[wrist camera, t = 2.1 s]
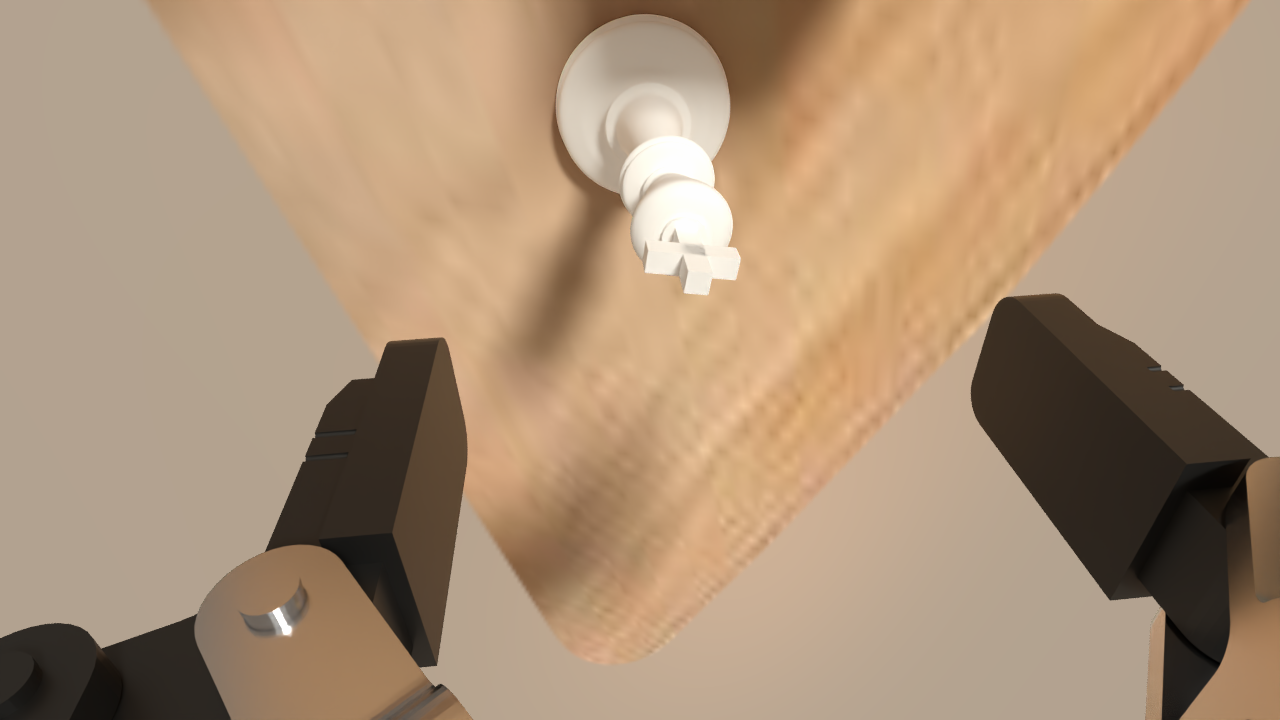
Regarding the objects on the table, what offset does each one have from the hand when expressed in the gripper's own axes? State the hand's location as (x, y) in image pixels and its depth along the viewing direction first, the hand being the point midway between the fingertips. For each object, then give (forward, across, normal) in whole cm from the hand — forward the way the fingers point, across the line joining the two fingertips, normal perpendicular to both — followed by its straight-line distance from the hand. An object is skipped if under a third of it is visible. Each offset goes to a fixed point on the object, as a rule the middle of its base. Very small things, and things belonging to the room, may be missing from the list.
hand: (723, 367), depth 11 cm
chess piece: (+12, 0, 0) cm, 12 cm away
